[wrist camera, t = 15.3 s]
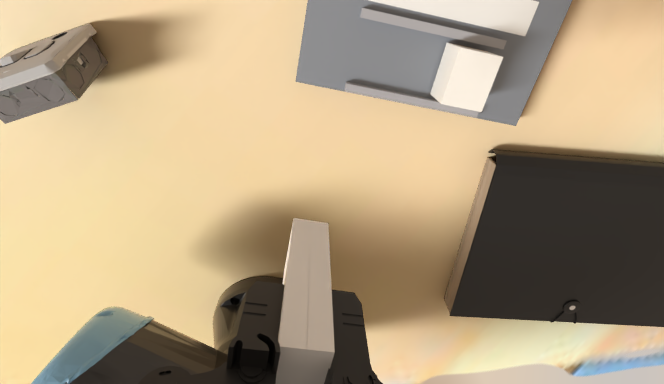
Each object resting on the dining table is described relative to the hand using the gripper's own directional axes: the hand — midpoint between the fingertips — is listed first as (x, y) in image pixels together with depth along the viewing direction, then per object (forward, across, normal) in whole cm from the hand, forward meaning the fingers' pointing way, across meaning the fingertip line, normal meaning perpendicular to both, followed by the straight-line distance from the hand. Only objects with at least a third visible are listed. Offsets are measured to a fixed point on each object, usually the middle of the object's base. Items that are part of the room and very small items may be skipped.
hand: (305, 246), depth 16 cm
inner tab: (+24, -13, -6) cm, 28 cm away
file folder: (+27, -39, +11) cm, 49 cm away
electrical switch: (+28, +25, 0) cm, 37 cm away
